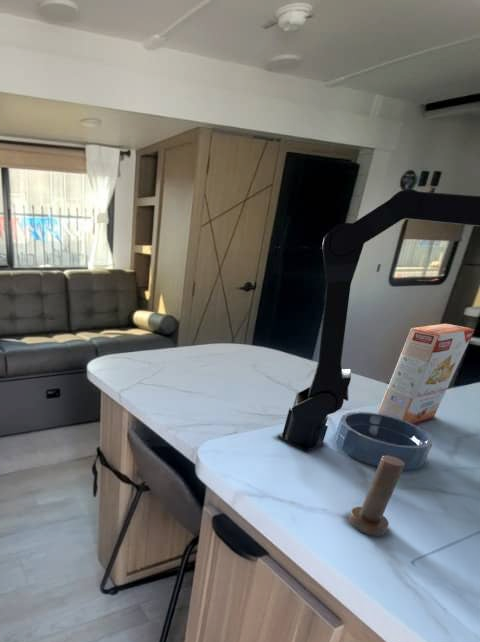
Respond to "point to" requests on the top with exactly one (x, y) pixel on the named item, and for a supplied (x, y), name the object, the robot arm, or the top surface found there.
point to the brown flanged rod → (377, 498)
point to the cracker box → (424, 371)
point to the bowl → (382, 439)
